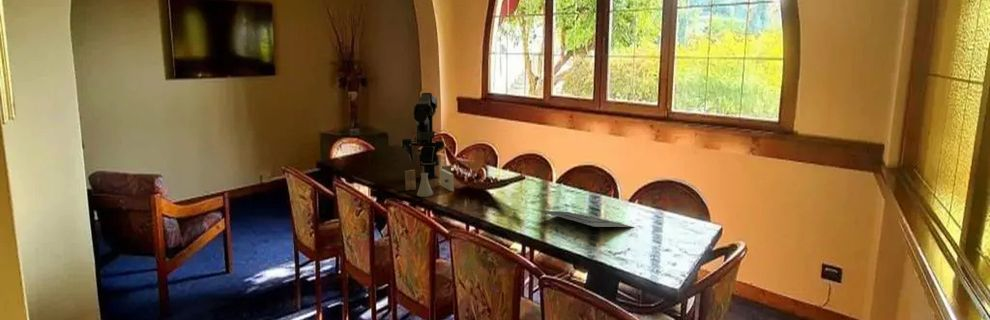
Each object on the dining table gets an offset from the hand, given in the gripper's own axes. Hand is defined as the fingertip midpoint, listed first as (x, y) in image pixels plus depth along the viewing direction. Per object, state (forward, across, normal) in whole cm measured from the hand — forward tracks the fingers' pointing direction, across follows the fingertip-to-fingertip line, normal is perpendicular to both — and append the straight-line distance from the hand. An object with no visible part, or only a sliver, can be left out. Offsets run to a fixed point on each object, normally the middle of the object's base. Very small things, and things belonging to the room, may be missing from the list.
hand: (422, 162), depth 276 cm
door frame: (+7, +5, +16) cm, 18 cm away
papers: (+35, +56, -47) cm, 81 cm away
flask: (+14, +2, +4) cm, 15 cm away
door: (+9, +12, +11) cm, 19 cm away
